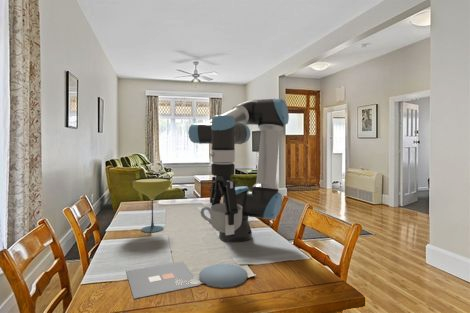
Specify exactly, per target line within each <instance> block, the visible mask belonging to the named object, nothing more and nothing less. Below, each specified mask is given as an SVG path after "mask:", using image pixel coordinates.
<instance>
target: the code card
mask: <svg viewBox="0 0 470 313" xmlns="http://www.w3.org/2000/svg"><path fill="white" fill-rule="evenodd" d="M125 272H126V276H127V279H128V283H129V288H130V290H131V294H132V298H133V300H136V299H137V300H138V299H141V298H146V297H150V296H156V295H161V294H165V293H171V292H175V291H181V290H185V289H189V288H195V287H200V286H201V284H199V283H200V282H199V283H198V284H191V283H190V282H191V281H190V280H191V279H194V278H193V277H195V276H194V274H193V273H192V271H191V270H190V269H189V267H188V266H187V264H186V263H185V262H184V261H177V262H170V263H165V264H158V265H154V266H147V267H142V268H135V269H129V270H126V271H125ZM176 278H177V279H178V280H179V279H180V280H181V279H182V280H183V282H184V281H185V280H186V281H187V282H186V281H185V282H184V283H183V282H182V285H181V283H180V284H179V285H178V283H177V285H176V283H175V281H176V280H177V279H176ZM175 279H176V280H175ZM182 280H181V281H182ZM181 281H180V282H181ZM188 281H190V282H188ZM178 282H179V281H178ZM186 283H187V284H186ZM188 283H189V284H188ZM199 285H200V286H199Z"/></svg>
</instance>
